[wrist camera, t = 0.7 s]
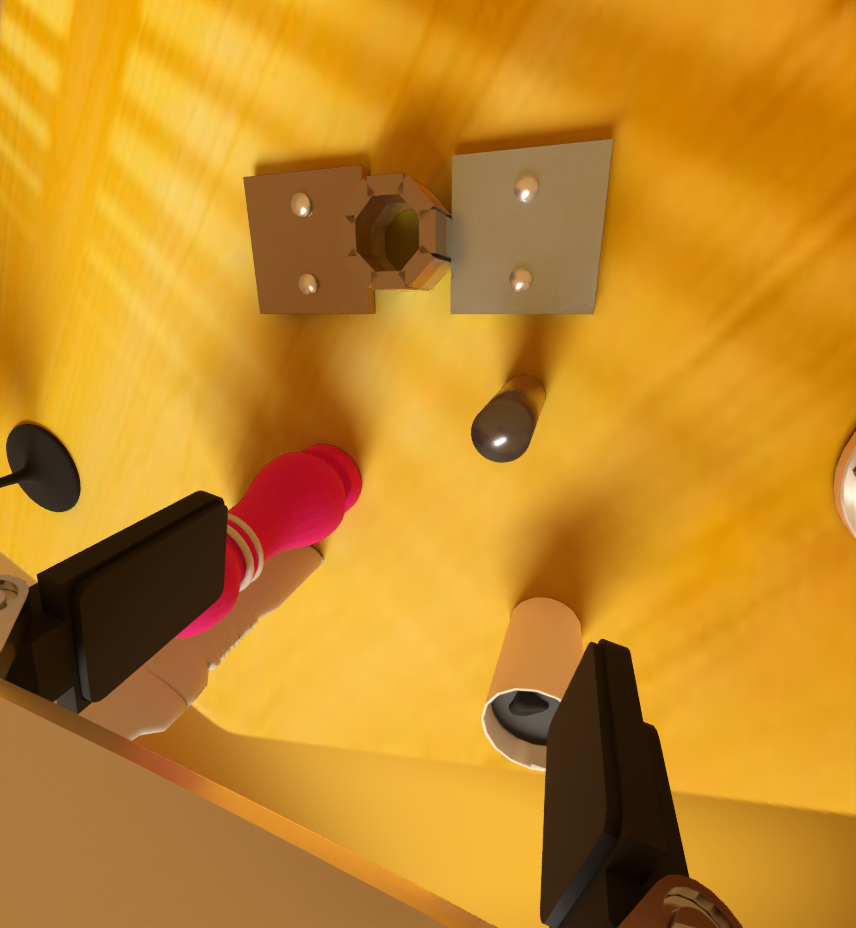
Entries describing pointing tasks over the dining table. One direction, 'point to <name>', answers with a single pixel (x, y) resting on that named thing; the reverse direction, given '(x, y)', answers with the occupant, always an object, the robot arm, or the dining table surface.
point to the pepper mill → (282, 518)
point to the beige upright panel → (198, 653)
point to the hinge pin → (509, 420)
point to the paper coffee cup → (531, 679)
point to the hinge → (436, 233)
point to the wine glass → (42, 468)
